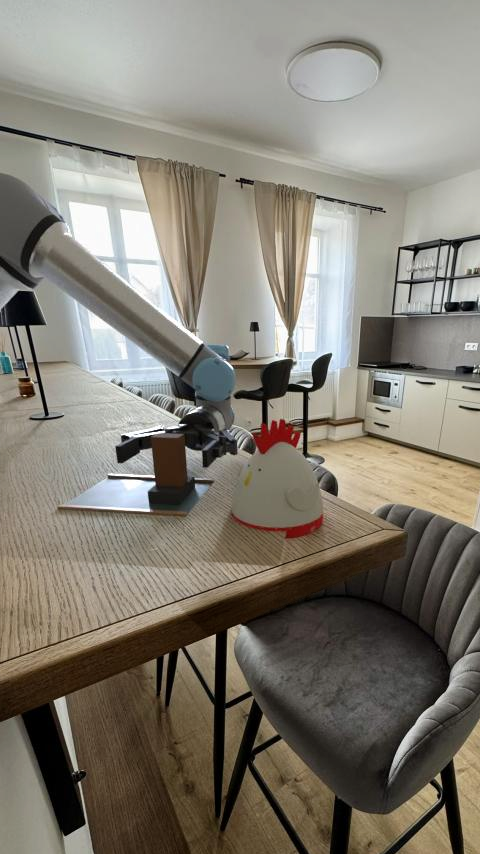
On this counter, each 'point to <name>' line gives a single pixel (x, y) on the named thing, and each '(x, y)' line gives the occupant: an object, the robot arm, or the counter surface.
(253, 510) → the kitchen timer
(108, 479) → the chalkboard
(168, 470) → the eraser
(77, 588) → the counter surface
